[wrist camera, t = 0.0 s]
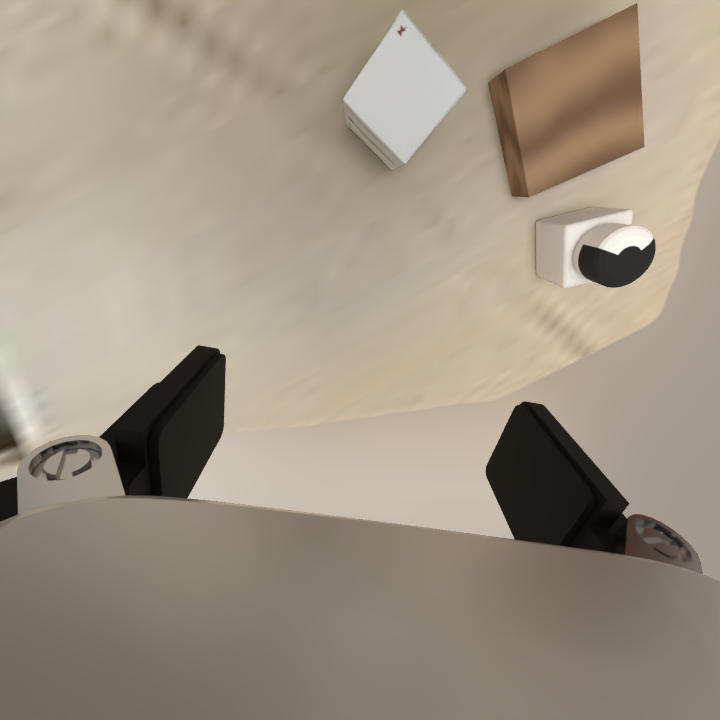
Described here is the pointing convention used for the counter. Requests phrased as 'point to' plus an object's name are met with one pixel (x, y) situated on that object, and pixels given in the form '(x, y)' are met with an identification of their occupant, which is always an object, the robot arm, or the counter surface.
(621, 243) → the medicine bottle
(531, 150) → the walnut block
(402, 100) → the supplement box
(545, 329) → the counter surface
